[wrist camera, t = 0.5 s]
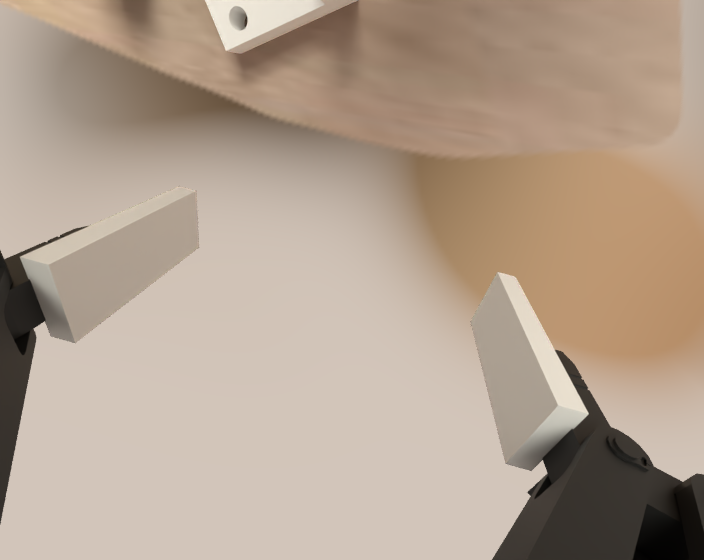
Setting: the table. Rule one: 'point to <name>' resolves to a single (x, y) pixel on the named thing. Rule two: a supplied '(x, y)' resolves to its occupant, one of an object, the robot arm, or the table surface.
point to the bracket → (264, 19)
